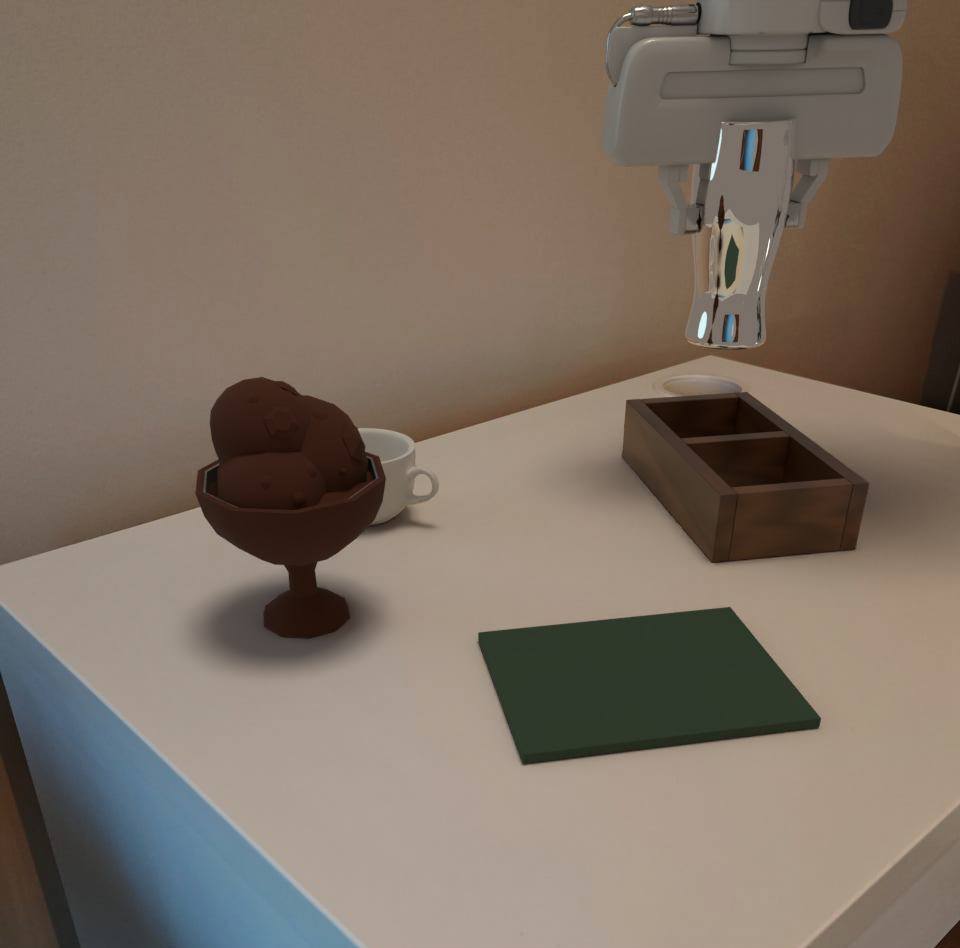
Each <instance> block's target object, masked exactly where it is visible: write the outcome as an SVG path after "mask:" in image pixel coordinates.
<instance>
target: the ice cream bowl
mask: <svg viewBox="0 0 960 948" xmlns="http://www.w3.org/2000/svg"><path fill="white" fill-rule="evenodd" d="M209 414H210V415H209V416H210V417H209V429H210V437H211V442H212V445H213V448H214V449H213V450H214V452H215V455H216V457H217V458H218V459H216V460H214V461H213V462H211V463H208V464H207V465H205V466H204V467H201V468H199V469H198V470H197V472H196V473H197V475H196V483H195V484H196V485H195V493H194V495H195V496H196V499H197V502H198V504H199V507H200V509H201V512H202V515H203V517H204V518H205V520H206V521H207V522H208V524H209V525H210V526H211V528H212V529H213V531H214V532H215V533H216V535H217V536H219V537H220V538H222V539H224V540H225V541H227V543H230V544H231V545H232V546H234V547H236V548H237V549H239V550H240V551H242V552H245V553H247V554H249V555H251V556H253V557H254V558H256V559H258V560H261V561H263V562H266V563H269V564H272V565H275V566H283V567H284V568H285V569H286V572H287V574H288V585H289V589H288V590H286V591H283V592H281V593H279V594H277V596H275V597H274V598H272V599H271V600H270V601H269V602H268V603H266V604H265V605H264V608H263V615H262V617H263V627H264V628H265V629H266V630H269V631H271V632H272V633H274V634H276V635H277V636H279V637H282V638H298V639H299V638H300V639H311V638H316V637H319V636H322V635H327V634H330V633H332V632H336V631H338V630H339V629H340V628H341V627H342V626H343V625H344V624H345V623H346V622H347V621H348V620H350V619H351V615H350V610H349V604H348V602H347V600H346V597H344V596H342V595H340V594H339V593H337V592H334V591H332V590H330V589H329V588H328V589H327V588H324V587H320V586H318V581H317V575H316V569H317V566H318V563H319V562H323V561H327V560H329V559H330V558H332V557H333V556H335V555H337V554H338V553H340V552H341V551H343V550H344V549H345V548H347V546H349V545H350V544H352V543H353V542H354V541H355V540H357V539H358V538H359V537H360V536H361V535H362V533H364V531H366V529H367V528H368V527H370V526H371V525H370V524H371V523H372V522H373V521H374V520H375V518H376V516H377V513H378V511H379V509H380V506H381V504H382V502H383V495H384V489H385V482H386V477H385V473H384V470H383V467H382V464H381V461H380V458H379V456H376V455H373V454H371V453H368V452H365V444H364V442H363V440H362V437H361V435H360V433H359V431H358V427H357V426H356V425H355V424H354V422H353V420H352V419H351V417H350V416H349V414H348V413H346V412H345V411H344V410H342V408H340V407H339V406H338V405H336V404H335V403H332V402H330V401H327V400H324V399H320V398H318V397H314V396H312V395H309V394H308V395H307V394H306V395H305V394H301V393H299V391H297V390H296V388H295V387H294V386H292V385H291V384H289V383H287V382H285V381H283V380H273V379H270V378H267V377H263V376H260V377H251V378H245V379H242V380H240V381H238V382H236V383H234V384H232V385H230V386H228V387H226V388H225V389H224V390H223V392H221V394H220V395H218V397H217V399H216V400H215V402H214V404H213V406H212V407H211V409H210V413H209Z"/></svg>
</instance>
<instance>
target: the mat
mask: <svg viewBox="0 0 960 948" xmlns="http://www.w3.org/2000/svg"><path fill="white" fill-rule="evenodd" d="M477 633H478V634H477V640H478V644H479V647H480V649H481V652H482V656H483V658H484V660H485V663H486V667H487V669H488V671H489V674H490V677H491V679H492V683H493V685H494V687H495V690H496V693H497V696H498V699H499V702H500V704H501V707H502V710H503V713H504V715H505V718H506V721H507V723H508V726H509V730H510V733H511V735H512V738H513V740H514V743H515V746H516V749H517V751H518V754H519V756H520V757H519V758H520V760H521V762H522V764H533V763H540V762H549V761H557V760H565V759H572V758H581V757H582V758H583V757H589V756H598V755H606V754H614V753H620V752H629V751H636V750H644V749H654V748H662V747H670V746H677V745H679V746H680V745H685V744H694V743H702V742H710V741H711V742H712V741H719V740H726V739H727V740H728V739H734V738H742V737H750V736H758V735H768V734H774V733H784V732H792V731H800V730H808V729H816V728H820V725H821V720H822V717H821V716H820V715H819V714H818V712H817V711H816V710H815V709H814V707H813V706H812V705H811V704H810V702H809V701H808V700H807V698H806V697H805V696H804V695H803V694H802V693H801V692H800V690H799V689H798V687H796V686H795V685H794V683H793V682H792V681H791V679H790V678H789V677H788V676H787V674H786V673H785V672H784V671H783V670H782V668H781V667H780V666H779V665H778V663H776V661H775V660H774V658H773V657H772V656H771V655H770V654H769V652H768V651H767V650H766V649H765V647H764V646H763V645H762V643H760V641H759V640H758V639H757V637H756V636H754V634H753V632H752V631H751V630H750V629H749V628H748V627H747V626H746V624H745V623H744V622H743V620H742V619H741V618H740V616H738V614H737V613H736V612H735V611H734V610H733V609H732V607H731V606H725V607H716V608H705V609H694V610H685V611H675V612H665V613H656V614H646V615H636V616H627V617H617V618H607V619H597V620H586V621H577V622H576V621H575V622H567V623H558V624H550V625H549V624H546V625H538V626H529V627H528V626H527V627H518V628H508V629H500V630H499V629H497V630H488V631H480V632H477Z"/></svg>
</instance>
